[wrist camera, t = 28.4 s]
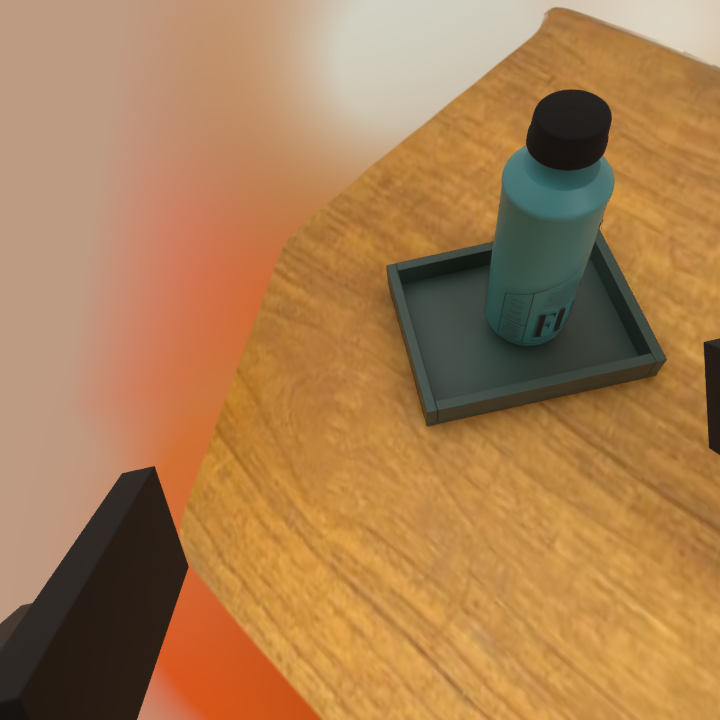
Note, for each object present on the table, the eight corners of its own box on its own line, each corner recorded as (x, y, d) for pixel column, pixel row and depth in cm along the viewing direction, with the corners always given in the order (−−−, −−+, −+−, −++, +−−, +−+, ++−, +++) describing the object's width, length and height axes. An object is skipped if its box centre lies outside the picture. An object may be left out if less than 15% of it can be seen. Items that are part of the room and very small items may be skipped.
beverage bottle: (526, 374, 46) (585, 178, 28) (462, 321, 48) (481, 113, 31) (582, 323, 47) (672, 108, 30) (518, 274, 50) (566, 52, 33)
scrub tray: (426, 426, 45) (426, 413, 43) (387, 283, 52) (386, 265, 49) (655, 375, 45) (667, 359, 43) (587, 238, 52) (594, 219, 49)
